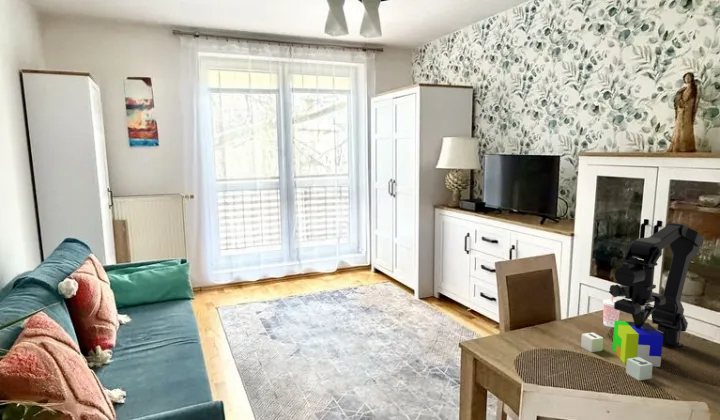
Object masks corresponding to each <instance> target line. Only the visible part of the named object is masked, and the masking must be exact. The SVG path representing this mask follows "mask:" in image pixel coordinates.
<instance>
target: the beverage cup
mask: <svg viewBox="0 0 720 420" xmlns="http://www.w3.org/2000/svg"><path fill="white" fill-rule="evenodd" d="M616 301H617V300H615V299H614V297H613V295H611V299H609V298H608V299H607V298H606V299H603V300H602V304H603V321H602V322H603V326H606V327H608V328H614V322H615V321H619V319H620V313H621V311H620V310H616V309H614V302H616Z"/></svg>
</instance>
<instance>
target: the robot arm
mask: <svg viewBox="0 0 720 420" xmlns="http://www.w3.org/2000/svg"><path fill="white" fill-rule="evenodd" d="M703 243H704V238H703V235H701V234H700V233H699V232H698V231H696V230H694V229H692V228H690V227H689V226H688V225H687V224H683V223H679V222H678V223H677V222H668V223H666V225H665V226H664V227H663V228H661V229H660V230H658V231H657V232H655V233H653V234H652V235H651V236H648V237H640V238H637V239H634V240H633V241H632V242H631V243H630V244H629V246H628V249H627V251H626V253H625V255H624V257H623V259H622V261H623V263H622V266H621V267H619V268H617V269H616V270H615V272H614V278H615V280H616V282H617V283H618V284H612V285H610V287H609V291H608V292H609V294H610V296H612V295H613V298H618V297H624V298H621V299H617V300H616V302H614V309H616V310H620V312H623V313H626V314H629V315H631V317H632V320H633V322H634V324H635V327H636V328H638V329H639V328H641V327H642V325H643V324H644V323H646V321H647V320H648V318H649V317H650V316H651V322H652V323H651V324H654V325H657V328H656V330H657V331H658V332H659V333H660V334H661V335H663V343H662V347H666V348H668V349H673V348H678V347H679V348H680V347H684V343H681V342H680V339H681V337H680V336H681V332H687V328H688V325H689V323H688V321H687V319H686V317H685V315H684V312H685V309H684V305H683V303H682V301H681V298H682V295H683V291H684V290H683V289H684V286H685V282H686V278H687V275H688V271H689V266H690V262H691V260H692V258H693V257H694V256H695V255H697V254H698V253H699V251H700V248H701V247H702V246H703ZM668 246H669V248H670V250H671V254H672V258H671V262H670V266H669V267H670V268H669V270H668V274H667V278H666V282H665V287H664V291H663V294H661V293H658V292H654V291H653V290H654V289H656V288H657V285H656V284H654V279H655V277H654V276H655V269H656V268H655V267H656V266H657V267H658V263H657V262H658V261H659V259H660V257H661V256H662V255H663V253H662V251H663V249H665V248H667V247H668ZM651 303H653V306H651V305H652V304H651Z"/></svg>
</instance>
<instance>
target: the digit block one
mask: <svg viewBox="0 0 720 420" xmlns="http://www.w3.org/2000/svg"><path fill="white" fill-rule="evenodd" d="M580 338H581V341H580V347H582V348H583V349H585V350H586V351H588V352H591V353H595V352H601V351H603V350H604V349H603V347H604V337H603V336H601V335H599V334H597V333H596V332H585V333H582V334H581V337H580Z"/></svg>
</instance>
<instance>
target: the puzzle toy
mask: <svg viewBox="0 0 720 420" xmlns="http://www.w3.org/2000/svg"><path fill="white" fill-rule="evenodd" d="M662 343H663V335H661V334H660V333H659V332H658V331H657V328H655V327H654V326H652V325H651V324H650V323H649V322H645V323H644V324H643V325H642V327H641V328H639V329H638V328H636V327H635V324H634V321H623V320H618V321H615V322H614V327H613V337H612V346H611V347H612V348H611V349H612V350H613V352H614V353H615V355H616V356H617V357H618V358H619V359H620V360H621V362H623V364H624V365H627V359H630V358H636V357H640V358H642V359H644V360H646V361H648V362H650V363H651V364H653V367H657V368H658V367H659V368H660V367H661V363H662V351H663V345H662Z"/></svg>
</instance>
